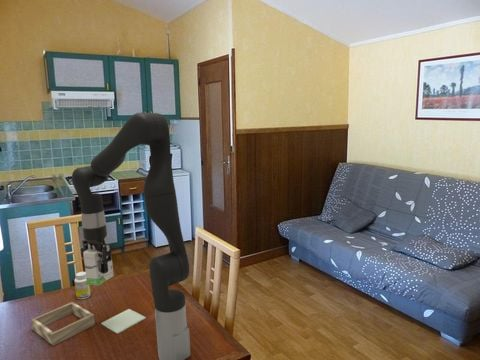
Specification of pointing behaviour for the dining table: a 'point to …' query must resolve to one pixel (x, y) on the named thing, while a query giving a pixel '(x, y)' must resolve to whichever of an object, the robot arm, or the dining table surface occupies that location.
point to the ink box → (95, 268)
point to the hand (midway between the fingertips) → (99, 270)
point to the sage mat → (123, 321)
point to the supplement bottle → (82, 286)
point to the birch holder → (64, 332)
